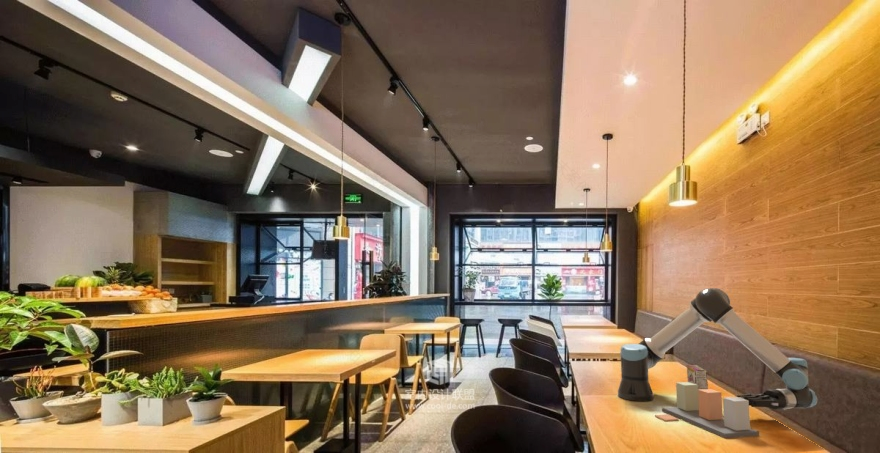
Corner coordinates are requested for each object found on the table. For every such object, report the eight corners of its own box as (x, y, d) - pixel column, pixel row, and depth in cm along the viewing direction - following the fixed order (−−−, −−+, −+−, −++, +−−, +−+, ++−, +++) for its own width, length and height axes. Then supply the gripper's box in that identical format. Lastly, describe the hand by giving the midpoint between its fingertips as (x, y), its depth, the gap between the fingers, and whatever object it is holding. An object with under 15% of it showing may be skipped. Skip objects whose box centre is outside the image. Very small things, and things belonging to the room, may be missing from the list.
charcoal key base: (662, 411, 188) (662, 407, 188) (691, 409, 191) (691, 406, 191) (725, 438, 157) (725, 433, 157) (759, 435, 160) (758, 431, 160)
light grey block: (724, 426, 165) (722, 397, 166) (738, 425, 166) (736, 396, 167) (736, 430, 160) (734, 401, 161) (750, 429, 161) (748, 400, 162)
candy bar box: (687, 402, 202) (686, 364, 204) (700, 403, 201) (698, 365, 203) (696, 409, 191) (694, 369, 193) (709, 410, 190) (707, 370, 192)
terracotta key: (699, 416, 176) (697, 389, 178) (712, 415, 178) (711, 389, 179) (709, 420, 172) (707, 392, 173) (722, 419, 173) (721, 392, 174)
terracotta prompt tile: (654, 416, 181) (654, 415, 181) (668, 415, 182) (668, 414, 182) (665, 421, 175) (665, 419, 175) (678, 420, 176) (678, 418, 176)
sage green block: (677, 407, 188) (676, 382, 189) (689, 406, 189) (688, 382, 190) (686, 410, 183) (684, 385, 184) (698, 410, 184) (697, 384, 186)
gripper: (795, 413, 175) (743, 416, 170) (764, 404, 188) (715, 407, 183) (793, 393, 176) (742, 396, 171) (763, 385, 189) (714, 388, 184)
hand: (728, 401), depth 177 cm, fingers closed
